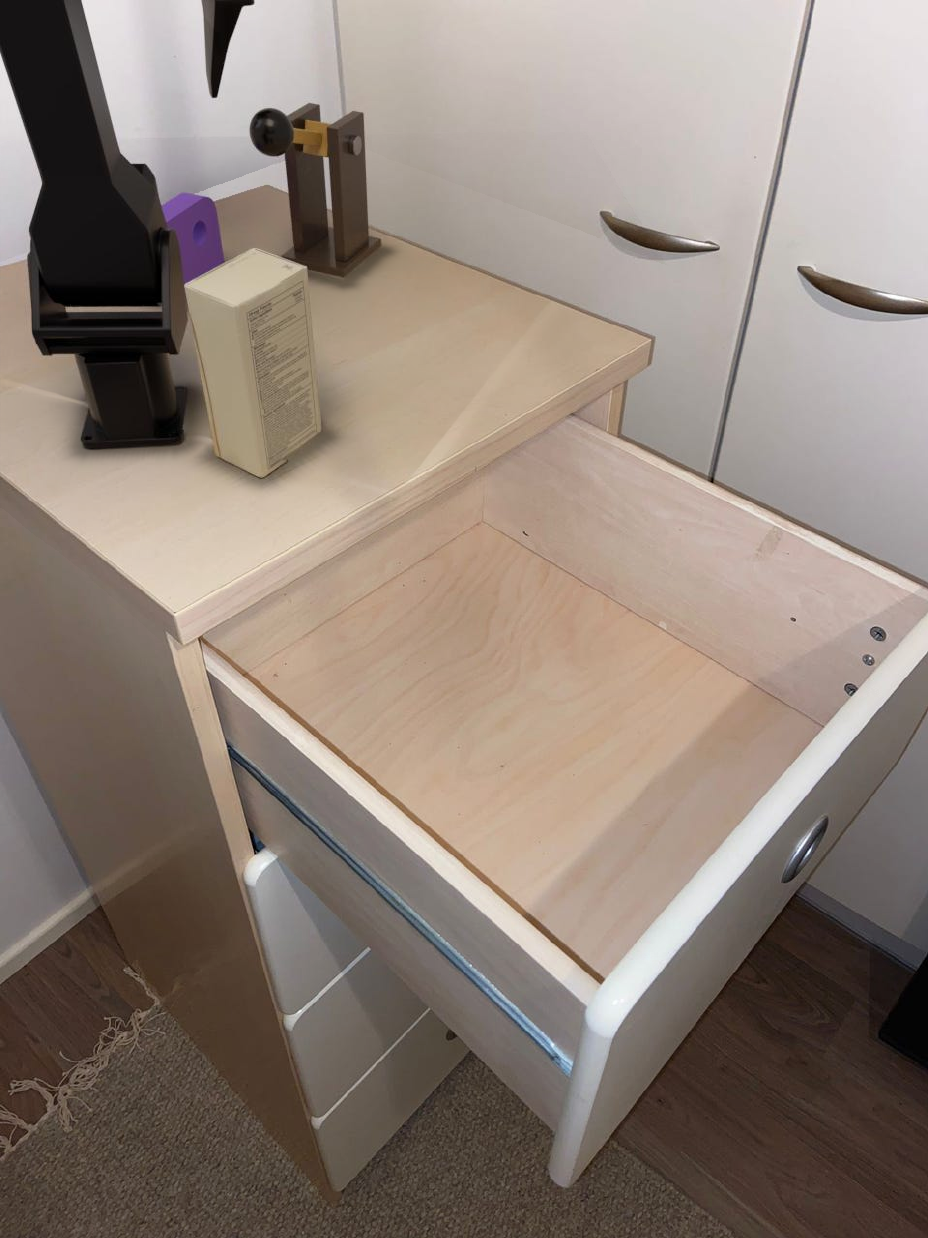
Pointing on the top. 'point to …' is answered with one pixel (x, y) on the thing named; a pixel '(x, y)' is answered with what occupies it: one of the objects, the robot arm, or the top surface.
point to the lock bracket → (348, 185)
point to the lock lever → (286, 134)
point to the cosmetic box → (256, 358)
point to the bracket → (195, 233)
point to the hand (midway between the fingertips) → (152, 101)
